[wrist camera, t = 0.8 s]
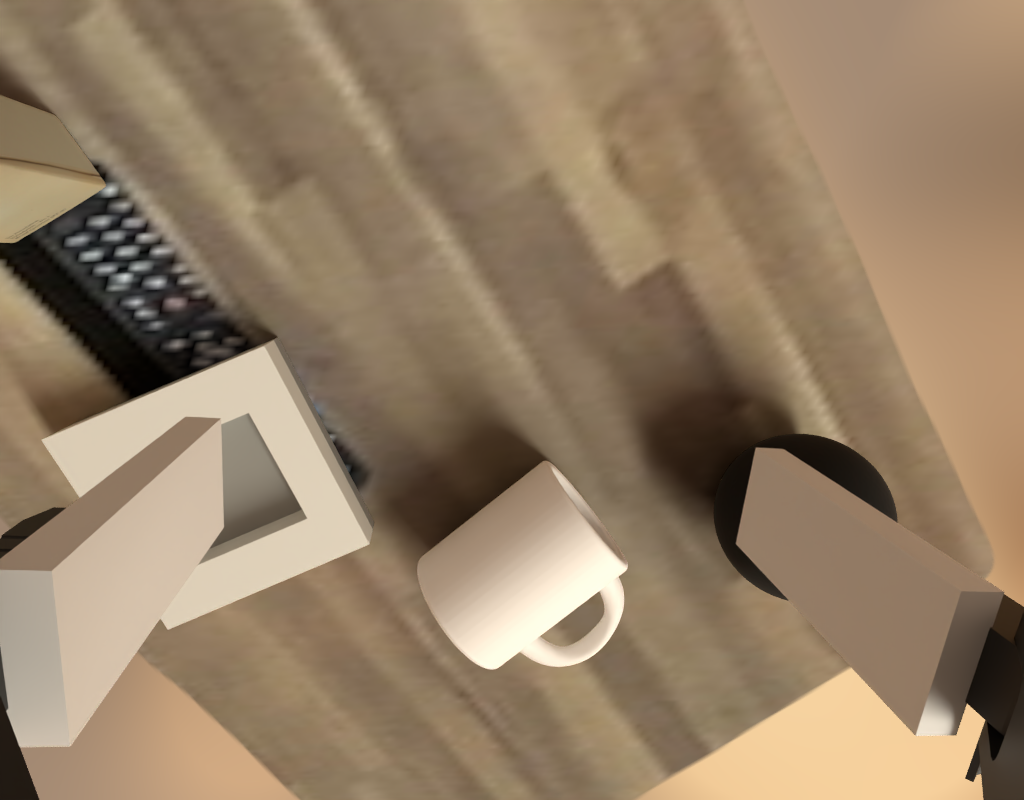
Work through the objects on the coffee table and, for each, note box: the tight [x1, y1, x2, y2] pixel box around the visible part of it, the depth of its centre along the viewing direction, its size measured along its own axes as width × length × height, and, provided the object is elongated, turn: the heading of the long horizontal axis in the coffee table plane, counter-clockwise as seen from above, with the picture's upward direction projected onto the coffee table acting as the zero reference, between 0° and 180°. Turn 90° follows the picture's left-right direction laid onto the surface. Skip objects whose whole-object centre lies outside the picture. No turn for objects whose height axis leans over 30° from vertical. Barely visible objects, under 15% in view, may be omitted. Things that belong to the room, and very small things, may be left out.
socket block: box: [42, 337, 374, 629], centre depth 37 cm, size 13×13×3 cm
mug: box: [417, 461, 628, 669], centre depth 38 cm, size 12×10×8 cm
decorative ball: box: [714, 434, 897, 601], centre depth 38 cm, size 10×10×10 cm
